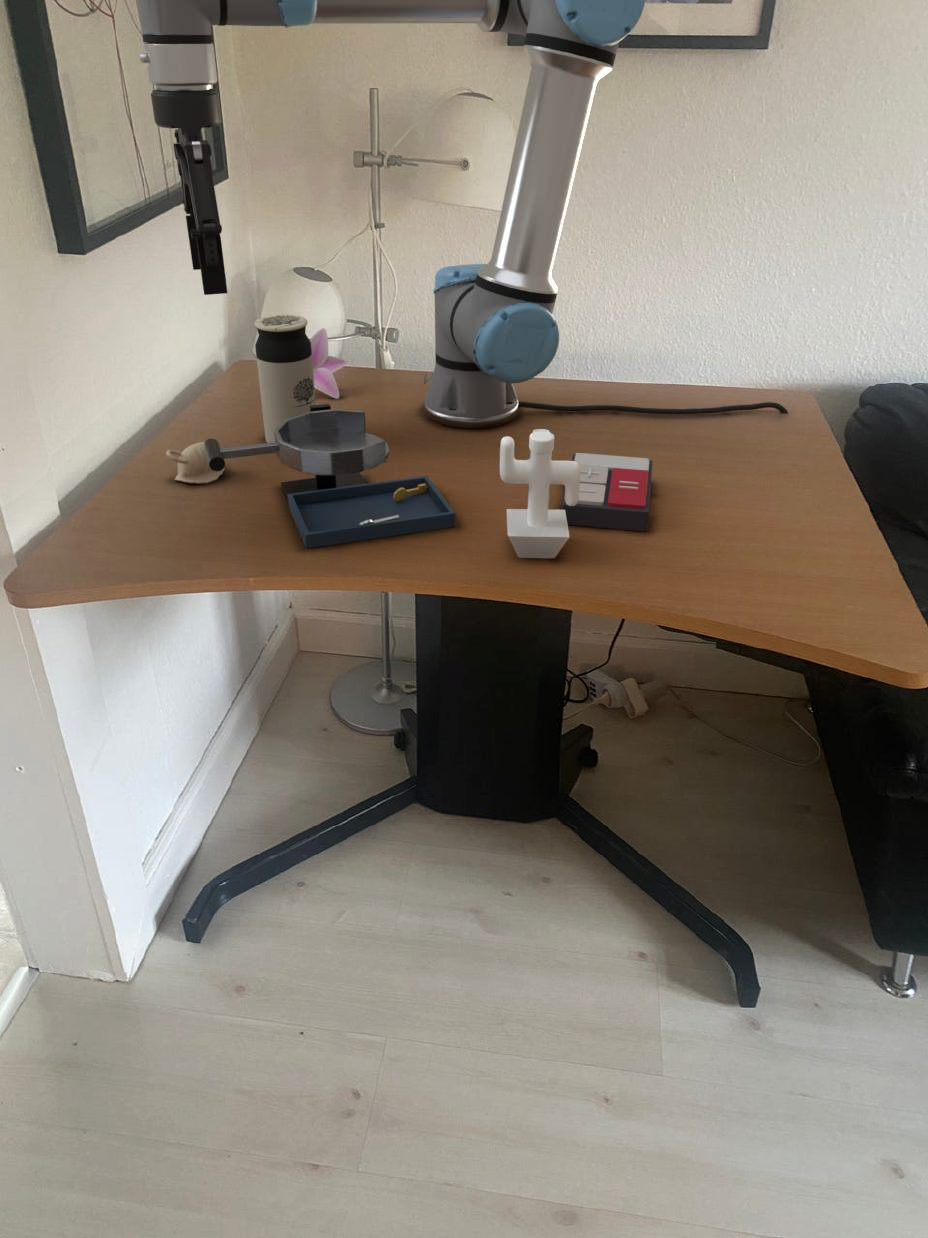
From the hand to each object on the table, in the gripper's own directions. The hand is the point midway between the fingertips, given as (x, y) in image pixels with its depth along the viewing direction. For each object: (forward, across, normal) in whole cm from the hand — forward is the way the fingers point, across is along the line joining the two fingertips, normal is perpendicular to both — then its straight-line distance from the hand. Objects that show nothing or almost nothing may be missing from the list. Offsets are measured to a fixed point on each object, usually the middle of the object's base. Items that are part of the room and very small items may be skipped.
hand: (209, 280), depth 120 cm
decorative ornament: (+27, -1, -5) cm, 27 cm away
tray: (+27, +18, +15) cm, 36 cm away
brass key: (+26, +15, +22) cm, 37 cm away
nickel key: (+25, +22, +15) cm, 37 cm away
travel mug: (+27, -11, +10) cm, 31 cm away
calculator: (+27, +24, +46) cm, 58 cm away
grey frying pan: (+17, +18, +7) cm, 26 cm away
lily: (+27, -31, +17) cm, 44 cm away
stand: (+27, +8, +11) cm, 30 cm away
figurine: (+27, +33, +32) cm, 53 cm away
